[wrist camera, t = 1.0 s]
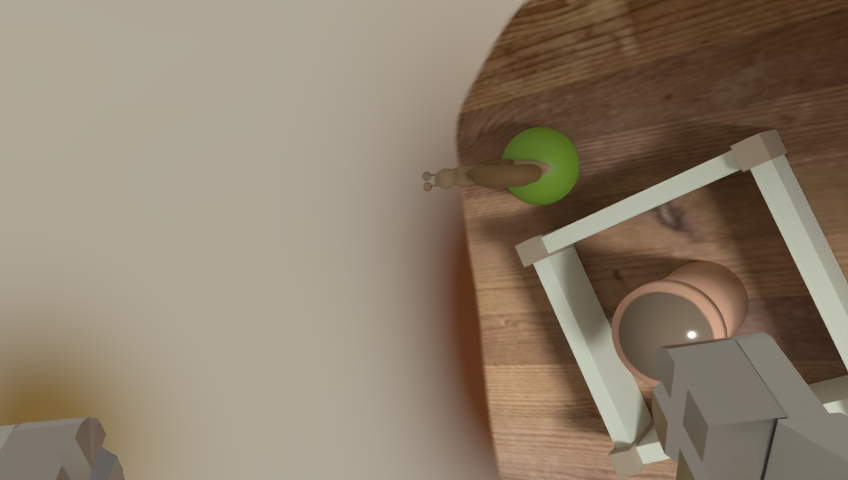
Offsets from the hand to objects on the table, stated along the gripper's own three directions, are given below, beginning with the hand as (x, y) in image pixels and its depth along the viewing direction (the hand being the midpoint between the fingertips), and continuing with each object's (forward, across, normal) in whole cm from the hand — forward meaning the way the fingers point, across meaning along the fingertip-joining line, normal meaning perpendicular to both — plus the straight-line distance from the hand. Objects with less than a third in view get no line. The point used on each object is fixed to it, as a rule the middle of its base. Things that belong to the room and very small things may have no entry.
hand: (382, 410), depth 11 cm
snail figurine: (+39, -11, +17) cm, 44 cm away
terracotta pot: (+30, -19, +23) cm, 42 cm away
